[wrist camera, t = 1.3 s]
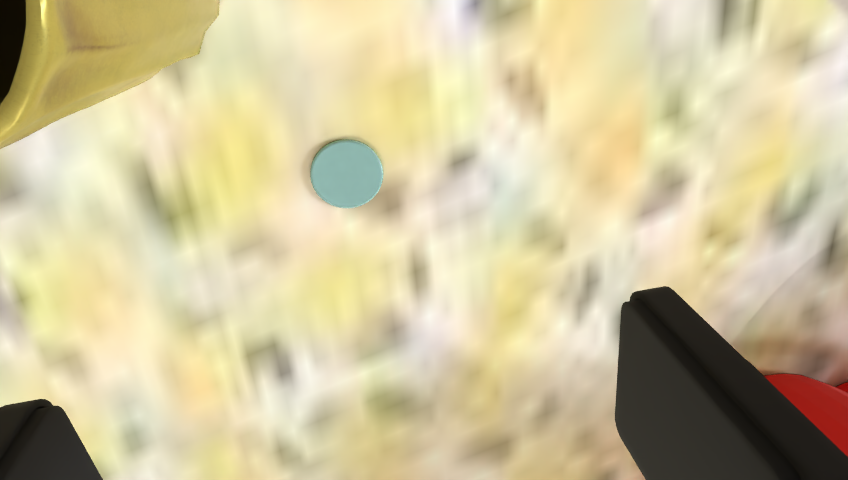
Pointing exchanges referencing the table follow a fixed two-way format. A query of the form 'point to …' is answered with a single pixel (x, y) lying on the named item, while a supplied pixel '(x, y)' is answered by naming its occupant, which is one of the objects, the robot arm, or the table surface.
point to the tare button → (346, 173)
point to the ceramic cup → (818, 404)
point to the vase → (87, 53)
